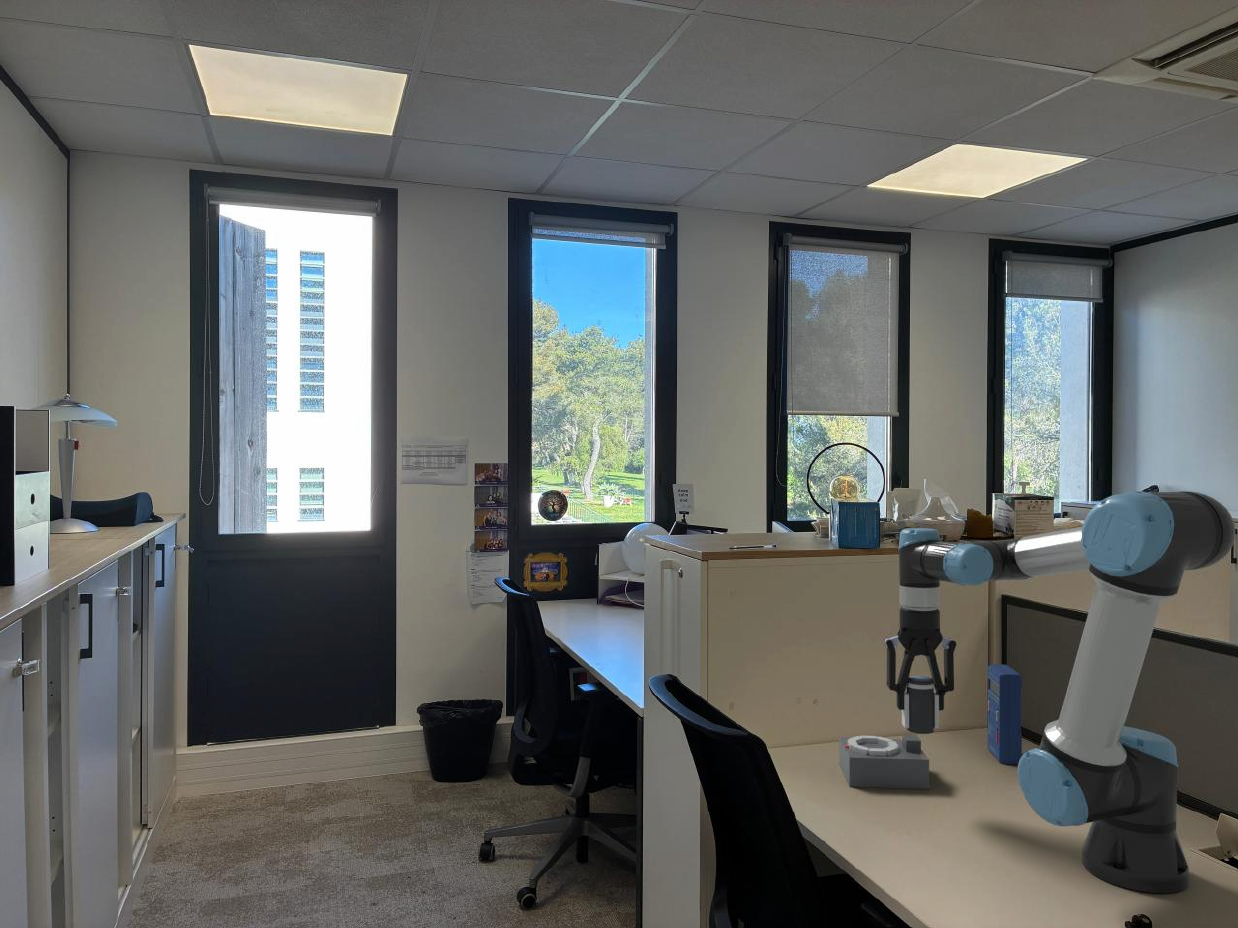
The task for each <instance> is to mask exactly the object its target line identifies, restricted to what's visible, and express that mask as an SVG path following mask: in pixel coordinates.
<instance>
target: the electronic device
mask: <svg viewBox="0 0 1238 928" xmlns="http://www.w3.org/2000/svg"><path fill="white" fill-rule="evenodd" d="M1022 689H1023V676H1022V675H1021V674H1020V673H1019V672H1017V671H1016V670H1014V669H1013V668H1012V667H1011V666H1009V665H1007V664H990V665H988V666H987V750H988V751H989V752H990V753H991V754H992V755H993V756H994V757H995V759H996V760H997V761H999V762H1000V763H1001V764H1003V765H1017V766H1018V764H1019V761H1020V759H1021V757H1022V756H1023V752H1022V751H1023V750H1022V749H1023V748H1022V747H1023V743H1022V742H1023V733H1022Z"/></svg>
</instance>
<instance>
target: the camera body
mask: <svg viewBox="0 0 1238 928" xmlns="http://www.w3.org/2000/svg"><path fill="white" fill-rule="evenodd" d="M838 749H839V750H838V765H839V767H840V770H841V772H842V774H843V775H844V778H845V780H846V782H847V784H848V786H849V787H857V788H865V787H866V788H885V789H887V788H889V789H890V788H891V789H917V790H918V789H920V790H921V789H922V790H929V789H930V759H929V758H928V755H926V753H924V751H923V750H922V740H921V739H920V737H919V736H918V734H902V735H901V738H886V737H883V736H880V735H879V736H876V735H856V736H853V737H842V736H841V737H839V739H838Z"/></svg>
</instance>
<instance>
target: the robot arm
mask: <svg viewBox="0 0 1238 928" xmlns="http://www.w3.org/2000/svg"><path fill="white" fill-rule="evenodd" d="M940 537H941V536H940V532H939V530H937V529H936V528H927V527H925V528H923V527H917V528H916V527H913V528H911V527H910V528H909V527H907V528H903V529H902V530H901V531H900V533H899V542H898V571H899V573H898V575H899V576H898V577H899V579H898V580H899V605H900V606H901V607H900V608H899V629H898V632H897V634H896V636H892V637H890V638H889V637H885V638H884V639H883V642H884V645H885V648H886V687H887V688H888V689H889V690H890V691H893V692H895V693H896V707H897V709H898V710H900V711H901V725H902V726H903V727H904V729H907V728H909V694H908V693H907V682H908V678H909V676H910V673H911V670H912V666H913V663H914V660H915V657H917V656H924V657H925V658H926V660H927V664H928V668H929V672H930V675H931V678H932V679H933V680H934V730H937V729H938V730H939V729H940V711H944V709H945V695H946V694H947V693H948V692H953V691H954V690H955V671H954V670H955V669H954V668H955V665H954V663H955V662H954V660H955V658H954V657H955V655H954V652H955V650H956V647H957V641H955V640H954V639H953V638H951V637H950V638H947V637H945V636H943V634H942V632H941V611H940V610H939V609H938V608H939V607H940V606H941V591H940V590H941V587H940V586H941V582H945V583H946V582H947V583H951V584H958V585H959V586H962V587H963V586H964V587H965V586H971V587H972V586H973V587H974V586H975V587H977V586H981V585H983V584H984V583H985V582H994V581H1011V580H1015V581H1023V580H1028V579H1032V578H1035V577H1043V576H1050V575H1052V576H1053V575H1058V574H1060V575H1061V574H1067V573H1075V572H1082V571H1083V572H1084V571H1088V573H1089V574H1090V576H1091V577H1092V578H1093V580H1094V582H1095V584H1096V585H1095V589H1094V592H1093V597H1092V599H1091V602H1090V603H1091V604H1090V606H1089V609H1088V613H1087V617H1086V620H1085V624H1084V625H1085V626H1084V627H1083V632H1082V634H1081V639H1080V642H1079V645H1078V646H1079V647H1078V648H1077V653H1076V656H1075V659H1074V664H1073V667H1072V670H1071V674H1070V678H1069V682H1068V685H1067V689H1066V693H1065V695H1064V700H1063V703H1062V707H1061V710H1060V714H1059V718H1058V719H1057V720H1054V721H1051V722H1048V723H1047V724H1046V726H1045V727H1044V731H1043V735H1042V737H1041V742H1040V745H1039V747H1038V748H1032V749H1030V750H1028V751H1026V752H1025V753H1023V754H1022V757H1021V759H1020V761H1019V764H1018V765H1017V780H1018V783H1019V784H1018V785H1019V787H1020V791H1022V793H1023V796H1024V798H1025V800H1026V802H1027V804H1028V805H1029V806H1030V807H1031V809H1032V811H1034V813H1035V814H1037V816H1039V817H1040V818H1041V819H1042V820H1044V821H1045V822H1047V823H1049V824H1051V825H1053V826H1057V827H1072V826H1073V827H1074V826H1075V827H1079V826H1084V825H1085V824H1089V823H1091V825H1090V827H1089V830H1088V833H1087V836H1086V837H1085V840H1084V843H1083V845H1082V851H1081V854H1082V855H1081V856H1082V857H1081V858H1082V859H1081V860H1082V861H1081V862H1082V865H1083V866H1084V868H1085V869H1086V870H1087V871H1088V872H1089V873H1091V874H1092V875H1094V876H1095V877H1097V878H1099V879H1101V880H1103V881H1105V882H1107V883H1109V884H1112V885H1114V886H1118V887H1121V888H1124V889H1129V890H1132V891H1137V892H1143V893H1149V894H1151V893H1152V894H1171V893H1172V894H1175V893H1180V892H1181V891H1184V890H1186V889H1187V888H1188V887H1189V885H1190V868H1189V865H1188V862H1187V859H1186V856H1185V852H1184V850H1183V847H1182V845H1181V841H1180V839H1179V836H1178V832H1177V815H1178V814H1177V809H1178V808H1177V805H1178V803H1177V801H1178V798H1177V796H1178V778H1177V777H1178V768H1179V763H1178V759H1177V748H1176V745H1175V744H1174V742H1172V741H1171V740H1170V739H1169V738H1167V737H1165V736H1163V735H1161V734H1157V733H1154V732H1151V731H1147V730H1145V729H1144V730H1143V729H1140V728H1135V727H1130V726H1125V723H1126V721H1127V717H1128V714H1129V710H1130V708H1131V704H1132V701H1133V697H1134V694H1135V690H1136V688H1137V684H1138V682H1139V677H1140V674H1141V671H1142V667H1143V665H1144V661H1145V657H1146V654H1147V652H1148V648H1149V645H1150V641H1151V638H1152V635H1153V632H1154V628H1155V625H1156V622H1157V618H1158V616H1159V611H1160V609H1161V605H1162V603H1163V602H1164V601H1167V600H1169V599H1172V598H1175V597H1176V596H1177V595H1178V592H1179V590H1180V589H1179V588H1180V585H1181V583H1182V579H1183V576H1184V572H1186V571H1194V570H1200V569H1205V568H1208V567H1211V566H1214V565H1215V564H1218V563H1219V562H1220V561H1222V560H1223V559H1224V558H1225V557H1226V556H1227V555H1228V554H1229V553H1230V551H1231V549H1233V548H1232V547H1233V546H1234V543H1235V539H1236V525H1235V521H1234V518H1233V516H1232V515H1231V513H1230V512H1229V511H1228V509H1227V508H1226V506H1224V505H1223V504H1222V503H1221V502H1219V500H1216V499H1215V498H1214V497H1212V496H1209V495H1207V494H1204V493H1200V492H1198V491H1197V492H1195V491H1160V492H1159V491H1155V492H1154V491H1152V492H1151V491H1149V492H1148V491H1143V490H1142V491H1141V490H1140V491H1139V490H1138V491H1136V490H1135V491H1129V492H1124V493H1119V494H1113V495H1110V496H1108V497H1106V498H1104V499H1102V500H1100V501H1099V502H1097V504H1095V505H1094V506H1093V507H1092V508H1091V509H1090V510H1089V512H1088V514H1087V515H1086V517H1085V519H1084V521H1083V524H1082V526H1077V527H1073V528H1068V529H1062V530H1061V529H1060V530H1057V531H1051V532H1044V533H1039V534H1034V535H1028V536H1023V537H1017V538H1009V539H1004V540H1002V539H1001V540H992V541H990V540H987V541H986V540H985V541H984V540H983V541H964V542H959V541H958V542H955V541H953V542H952V541H944V540H941V538H940ZM898 643H900V644H901V646H902V647H903V648H904V652H903V659H902V662H901V666H900V670H899V674H898V679H897V678H896V677H897V676H896V675H897V661H896V660H897V657H896V655H897V654H896V653H897V652H896V649H897V648H898ZM940 645H941V646H942V648H943V681H942V677H941V676H942V675H941V673H940V669H939V666H938V665H939V664H938V661H937V656H936V655H937V654H936V652H935V651H936V650H937V649H938V648H939V646H940ZM896 679H897V680H896ZM896 681H897V682H896ZM943 682H944V683H943Z"/></svg>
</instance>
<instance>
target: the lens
mask: <svg viewBox="0 0 1238 928" xmlns="http://www.w3.org/2000/svg"><path fill="white" fill-rule="evenodd" d="M906 692H907V693H908V694H909V728H906V730H907V731H908V732H911V733H914V734H917V735H918V734H920V735H925V734H926V735H929V734H933V733H934V731H935V728H934V692H935V687H934V680H933V679H932V677H928V676H923V675H911V676H910V675H909V678H908V682H907V686H906Z"/></svg>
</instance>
